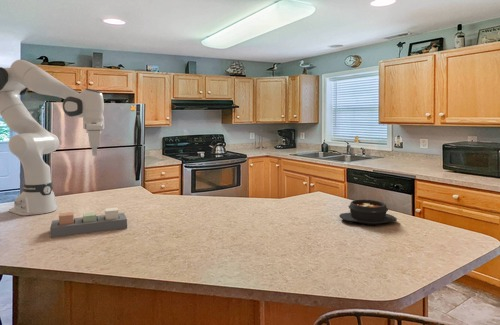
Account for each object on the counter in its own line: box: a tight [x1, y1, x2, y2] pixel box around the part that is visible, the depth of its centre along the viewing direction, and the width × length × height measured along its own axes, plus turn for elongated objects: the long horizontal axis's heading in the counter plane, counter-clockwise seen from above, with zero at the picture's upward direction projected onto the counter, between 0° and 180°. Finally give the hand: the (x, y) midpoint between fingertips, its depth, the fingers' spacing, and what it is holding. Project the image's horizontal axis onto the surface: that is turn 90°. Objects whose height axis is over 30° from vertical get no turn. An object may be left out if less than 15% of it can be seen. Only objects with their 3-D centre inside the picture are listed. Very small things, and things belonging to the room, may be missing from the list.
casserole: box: [338, 199, 398, 226], centre depth 157 cm, size 25×19×8 cm
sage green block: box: [82, 211, 97, 223], centre depth 144 cm, size 5×5×5 cm
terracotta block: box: [58, 211, 75, 225], centre depth 141 cm, size 5×5×5 cm
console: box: [49, 212, 128, 239], centre depth 145 cm, size 28×11×4 cm, turn 116°
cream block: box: [104, 207, 119, 220], centre depth 148 cm, size 5×5×5 cm
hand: (94, 155), depth 160 cm, fingers closed
